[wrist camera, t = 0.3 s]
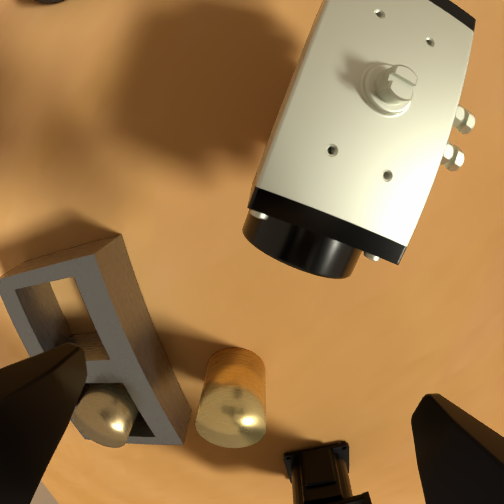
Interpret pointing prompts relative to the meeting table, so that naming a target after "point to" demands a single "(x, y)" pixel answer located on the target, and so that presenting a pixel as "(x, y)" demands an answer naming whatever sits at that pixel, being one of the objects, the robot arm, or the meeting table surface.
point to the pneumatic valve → (362, 134)
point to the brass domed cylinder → (233, 399)
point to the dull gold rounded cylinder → (106, 414)
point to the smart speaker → (48, 1)
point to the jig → (102, 332)
